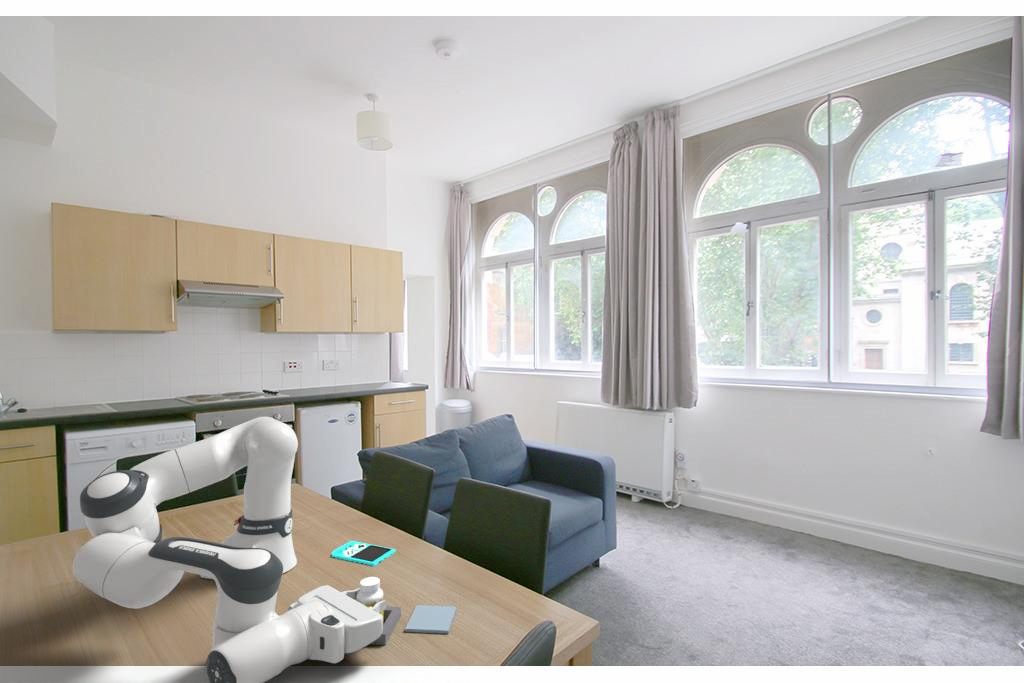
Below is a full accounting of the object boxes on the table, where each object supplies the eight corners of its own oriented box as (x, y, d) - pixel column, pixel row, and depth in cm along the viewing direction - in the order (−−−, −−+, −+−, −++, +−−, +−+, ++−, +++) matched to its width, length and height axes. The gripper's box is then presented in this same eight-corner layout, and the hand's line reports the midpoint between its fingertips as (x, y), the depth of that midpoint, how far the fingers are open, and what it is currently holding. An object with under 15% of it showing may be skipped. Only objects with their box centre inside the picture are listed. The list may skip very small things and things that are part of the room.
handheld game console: (352, 544, 143) (352, 539, 143) (397, 553, 137) (397, 548, 137) (327, 558, 134) (327, 553, 134) (374, 568, 128) (374, 562, 128)
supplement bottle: (388, 624, 101) (388, 577, 101) (373, 639, 96) (373, 589, 96) (366, 619, 103) (366, 573, 103) (350, 633, 98) (350, 585, 98)
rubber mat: (404, 631, 98) (404, 628, 98) (416, 607, 107) (416, 605, 107) (448, 633, 98) (448, 630, 98) (456, 609, 107) (456, 606, 107)
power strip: (245, 638, 96) (245, 624, 96) (273, 611, 106) (273, 598, 106) (385, 644, 94) (385, 630, 94) (400, 616, 104) (401, 603, 104)
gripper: (282, 625, 96) (344, 596, 107) (341, 667, 83) (405, 630, 94) (282, 593, 96) (344, 568, 107) (341, 631, 83) (405, 597, 94)
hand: (373, 597), depth 100 cm, fingers open, 6 cm apart
